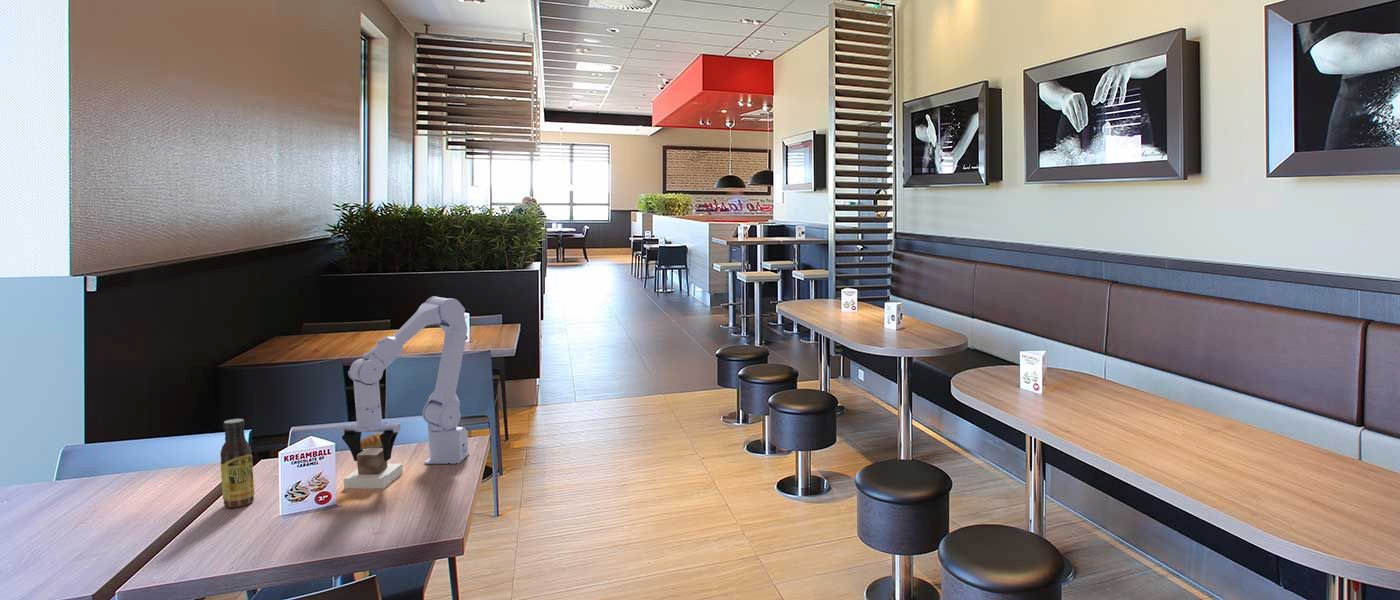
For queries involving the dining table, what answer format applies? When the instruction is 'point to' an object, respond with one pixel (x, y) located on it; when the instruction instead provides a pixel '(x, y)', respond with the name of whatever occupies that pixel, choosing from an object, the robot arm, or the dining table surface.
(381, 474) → the base block
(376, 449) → the walnut block
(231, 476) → the sauce bottle
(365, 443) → the pastry
